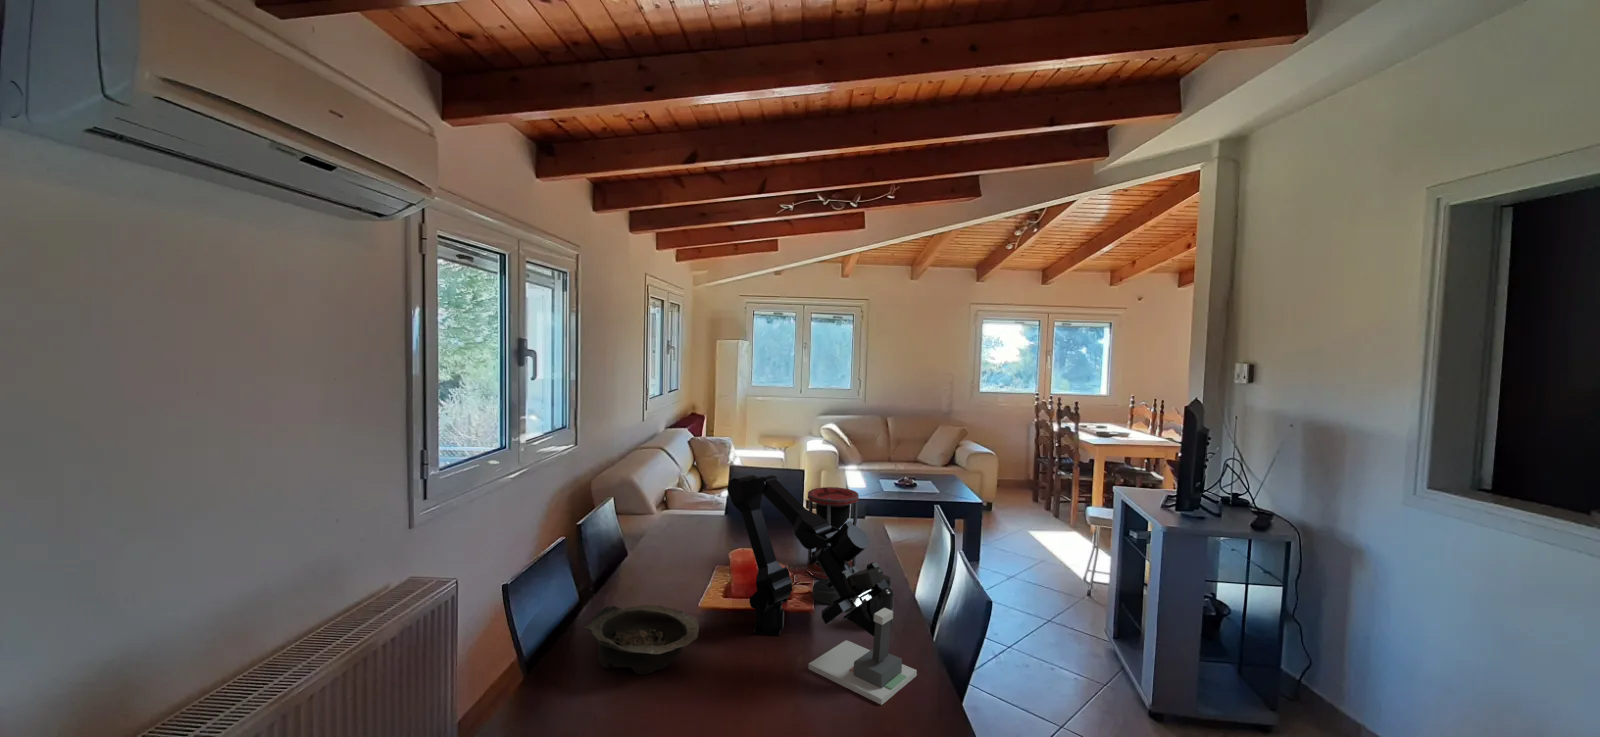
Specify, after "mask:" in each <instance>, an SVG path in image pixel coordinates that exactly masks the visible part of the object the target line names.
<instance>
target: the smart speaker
mask: <svg viewBox="0 0 1600 737" xmlns="http://www.w3.org/2000/svg"><path fill="white" fill-rule="evenodd" d="M829 582H830V581H829V580H823V579H819V580H818V581H816V582H815V583H813V585H812V597H814V598H813V599H814V600H815V601H816V602H818V603H821V604H826V605H830V604H831V603H832V602H834V601H836V600H837V599H839V596H838V595H837V593H836V591H835V589H834V588H833V587H831V588H829V587H828V585H827V584H828V583H829Z"/></svg>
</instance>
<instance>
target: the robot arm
mask: <svg viewBox="0 0 1600 737" xmlns="http://www.w3.org/2000/svg"><path fill="white" fill-rule="evenodd" d="M727 492H728V493H727V494H728V495H729V498H730V500H731V503H732V505H733V506H734V507H735V508H736V509H737V510H738V511H739V512H740V513H741V516H742V518H743V522H744V525H745V528H746V531H747V536H748V539H749V542H750V545H751V548H752V552H753V555H754V556H753V557H754V560H755V562H756V566H757V574H756V578H755V585H756V591H755V592H754V593H753V595H751V596H750V597H749V598H748V599H749V600H748V601H749V604H750V608H752V609H754V610H755V622H754V623H755V624H754V626H755V627H754V630H753V634H756V635H757V634H758V635H769V636H772V635H773V636H780V635H781V631H782V630H783V629H784V625H785V609H784V608H783V604H784V603H787V602H788V599H789V597H790V596H791V594H792V591H793V580H792V577H791V575H790V569H789V568H788V567H787V566H785V567H783V566H781V564H779V562H778V560H777V557H776V554H775V550H774V548H773V543H772V541H771V537H770V535H769V531H768V529H767V525H766V522H765V517H764V514H763V511H762V508H761V505H762V500H763V496H764V497H765V499H767V500H768V501H769V502H770V503H771V504H772V505H773V506H774V507H775V509H776V510H777V511H779V513H780V514H782V516H783V517H784V518H785V519H786V520H787V521H788V522H789V523H790V525H791V526H792V527H793V528H792V529H793V532H794V534H793V535H794V536H795V537H796V538H797V540H798V541H799V542H800V544H801V545H802V547H804V548H805V549H806V550H808V549H812V550H814V549H815V550H814V551H812V556H811V561H810V564H811V565H813V564H815V563H817V562H818V563H819V564H820V566H821V568H822V569H823V571H824V573H825V574H826V576H827V578H828V579H829V581H830V582H829V583H828V584H827V585H828V587H829V588H831V587H833V588H834V589H835V591H836V593H837V595H838V596H839V599H837V600H836V601H834V602H832V603H831V604H828V606H826V607H824V608H823V609H822V610H821V614H820V616H821V619H822V621H823V622H824V624H825V625H826V626H827V625H829V624H831V623H832V622H833V621H835V620H836V618H837V617H838V616H840V615H841V614H842V613H845V615H844V616H843V617H842V619H843V620H846V619H847V620H848V621H850V622H851V623H853V624H854V625H857V626H858V627H860V628H861V629H862V630H863V631H865V632H867V633H868V634H869V635H870V636H872V637H874V632H875V622H874V614H875V611H874V603H875V599H876V598H877V595H878V594H879V593H881V592H882V591H883V590H885V589H886V588H887V587H889V585H888V583H887V582H886V580H885V579H884V578H881V577H880V576H882V574H883V572H884V570H883V569H882V568H881V566H880V565H879V564H878V562H877V561H872V562H870V563H868V564H866V568H865V569H863V570H859V569H858V566H857V567H855V566H853V567H850V565H849V563H848V562H847V561H852V559H853V558H855V557H856V558H857V556H858V555H859V554H861V553H862V552H863V551H864V550H865V549H867V548H868V546H869V544H870V542H869V540H870V539H869V537H868V535H867V533H866V531H864V530H862V528H860V527H859V526H857V525H856V526H854V525H853V521H848V522H847V521H846V522H845V523H844V524H843V525H842V526H841V527H840V528H839V529H838V528H836V527H834V526H831V525H830V523H829V522H828V521H826V520H825V519H824V518H822V517H821V516H820V515H818V514H816V512H813V511H812V512H810V511H809V509H807V508H806V507H805V506H803V505H802V503H801V502H800V501H799V500H798V499H796V497H795V496H794V495H793V494H792V493H791V492H789V491H788V489H786V487H784V485H783V484H781V482H780V481H779V478H778V477H777V476H776V475H774V474H767V475H764V476H763V475H762V476H759V477H758V476H756V475H754V474H747V475H743V476H742V475H741V476H737V477H733V478H731V479H730V480H729V482H728V485H727ZM829 543H830V544H831V546H824V545H826V544H829ZM821 546H824V547H823V548H822V549H821V550H820V551H819V550H816V548H817V547H821Z"/></svg>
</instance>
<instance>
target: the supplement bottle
mask: <svg viewBox="0 0 1600 737" xmlns="http://www.w3.org/2000/svg"><path fill="white" fill-rule="evenodd" d="M880 577H881V578H884V579H885V580H886V582H887V583H888V585H889V587H887V588H886V589H885V590H883V591H882V592H881V593H879V594H878V595H877V598H876V599H875V603H874V611H875V613H876V612H878V611H880V610H881V609H883V608H887V609H889V610H891V611H893V612H894V608H895V607H894V603H895V601H894V600H895V593H894V589H893V588H892V587H891V586H892V584H891V577H890V576H889V575H886V574H883V573H882V576H880ZM893 622H894V618H893V619H891V623H890V628H891V627H892V626H893V624H894V623H893Z"/></svg>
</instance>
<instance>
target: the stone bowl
mask: <svg viewBox="0 0 1600 737" xmlns="http://www.w3.org/2000/svg"><path fill="white" fill-rule="evenodd" d="M699 628H700V625H699V623H698V621H697V620H696V618H695V617H693V616H691V615H688V613H685V612H684V611H682V610H678V609H676V608H672V607H670V608H669V607H665V606H662V605H651V604H650V605H649V604H642V605H637V606H630V607H629V606H628V607H625V608H621V607H618V606H615V605H613V606H605V607H604V608H602V609H600V610H598V611H597V613H596V615H595V616H594V617H593V618H592V621H591V623H590V624H589V623H588V624H587V625H584V627H583V629H585V630H587V631H588V632H590V633H591V634H592V636H593V639H594V640H595V642H596V643H597V644H598V645H599V647H598V660H599V663H600V665H601V666H602V667H603V668H605V669H613V668H614V669H615V668H617V669H618V668H631V669H632V670H633V671H634V672H635V673H636V674H637V675H648V674H647V673H650V674H652V673H654V672H656V671H661V670H663V669H665V668H666V667H668V666H669V664H671V663H672V662H673V661H675V659H677V658H678V657H679V654H680V653H681V651H682V649H683V648H684V647H686V646H689V645H690V643H692V642H694V641H695V640H697V639H698V637H699V635H698V634H699V630H700V629H699ZM660 669H661V670H660Z"/></svg>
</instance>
